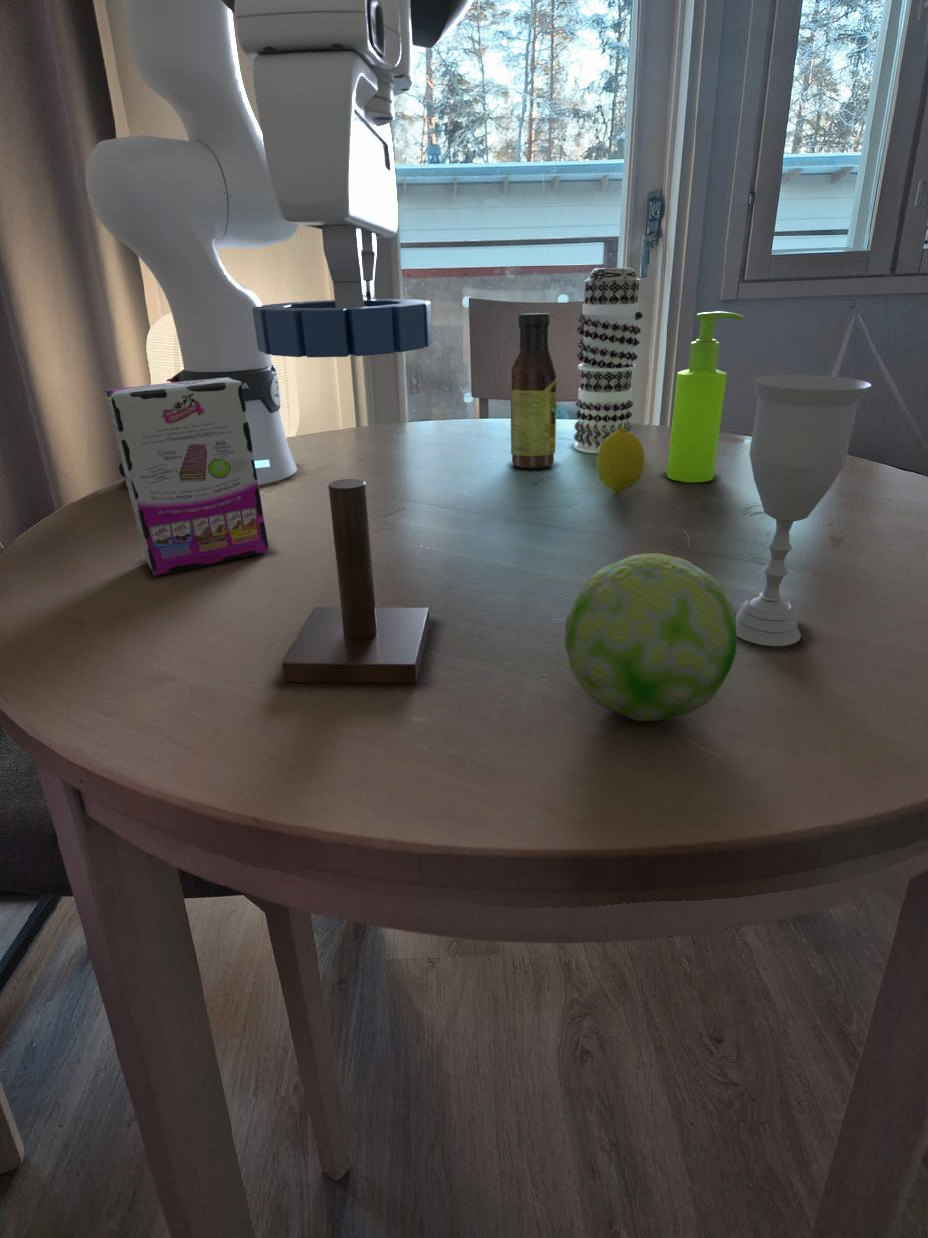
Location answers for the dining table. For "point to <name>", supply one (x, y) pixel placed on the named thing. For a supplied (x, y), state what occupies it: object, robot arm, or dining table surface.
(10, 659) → the dining table surface
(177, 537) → the candy bar box
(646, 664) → the decorative ball
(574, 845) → the dining table surface
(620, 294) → the decorative candle
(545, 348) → the sauce bottle
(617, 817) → the dining table surface
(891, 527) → the dining table surface
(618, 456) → the lemon
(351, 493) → the stand
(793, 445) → the chalice
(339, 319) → the bracelet
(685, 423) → the soap dispenser
